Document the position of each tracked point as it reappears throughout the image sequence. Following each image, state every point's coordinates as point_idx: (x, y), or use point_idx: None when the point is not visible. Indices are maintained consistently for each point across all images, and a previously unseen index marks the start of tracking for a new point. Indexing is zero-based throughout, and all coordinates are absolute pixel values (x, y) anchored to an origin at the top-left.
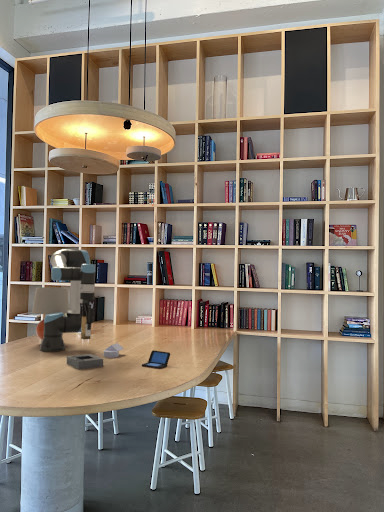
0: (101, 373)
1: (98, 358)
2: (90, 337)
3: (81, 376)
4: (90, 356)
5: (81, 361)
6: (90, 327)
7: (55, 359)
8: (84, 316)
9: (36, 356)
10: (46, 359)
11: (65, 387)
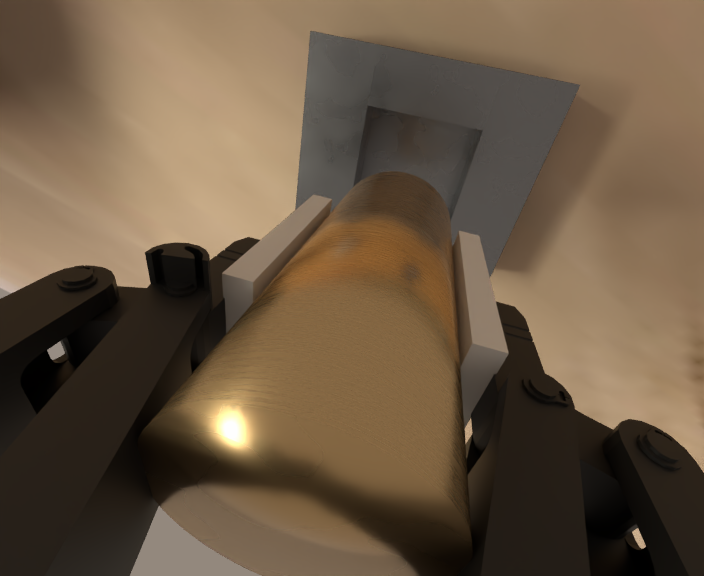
0: (694, 241)
1: (526, 113)
2: (434, 192)
3: (615, 347)
4: (404, 112)
5: (491, 271)
6: (528, 341)
7: (172, 196)
8: (283, 554)
9: (67, 221)
10: (155, 229)
11: None
